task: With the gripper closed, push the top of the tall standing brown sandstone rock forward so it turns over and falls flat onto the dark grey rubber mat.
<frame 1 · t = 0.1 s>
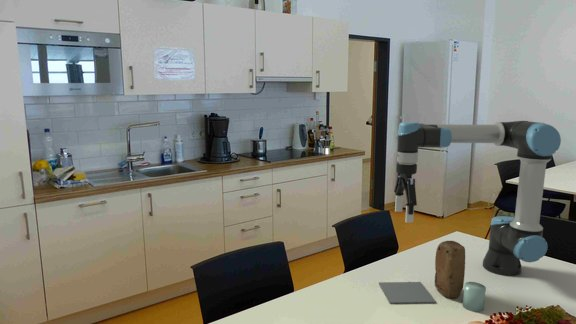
hand: (403, 216, 167), 28 cm above the table, tool pointing down, fingers open, 13 cm apart
mat: (405, 293, 164), on the table
brown sandstone rock: (446, 293, 165), on the table
pale blue rounded cylinder: (473, 307, 155), on the table
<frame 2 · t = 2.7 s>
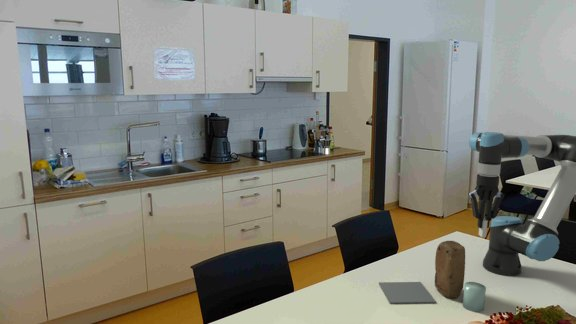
hand: (482, 236, 162), 23 cm above the table, tool pointing down, fingers closed
nothing on the table moved.
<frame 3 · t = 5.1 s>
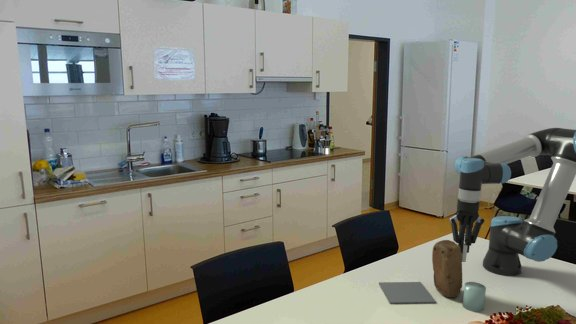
hand: (462, 260, 163), 13 cm above the table, tool pointing down, fingers closed
brown sandstone rock: (447, 292, 165), on the table, touching gripper, hand
everything else where it was.
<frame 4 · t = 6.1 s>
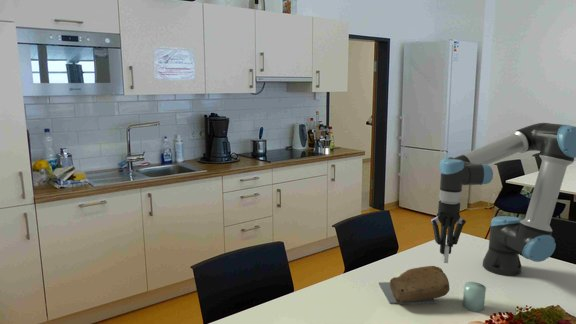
hand: (444, 261, 163), 13 cm above the table, tool pointing down, fingers closed
brown sandstone rock: (444, 279, 159), point 7 cm above the table, touching mat
everything else where it was.
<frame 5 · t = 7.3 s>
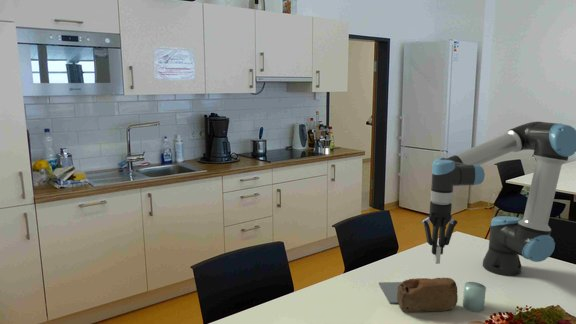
hand: (436, 262, 163), 12 cm above the table, tool pointing down, fingers closed
brown sandstone rock: (454, 292, 153), point 6 cm above the table, touching mat
everything else where it was.
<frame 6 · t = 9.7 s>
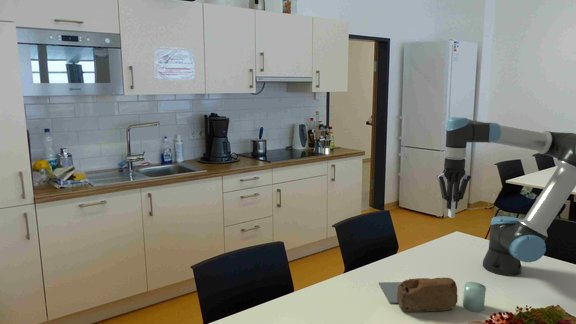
hand: (451, 216, 170), 27 cm above the table, tool pointing down, fingers closed
nothing on the table moved.
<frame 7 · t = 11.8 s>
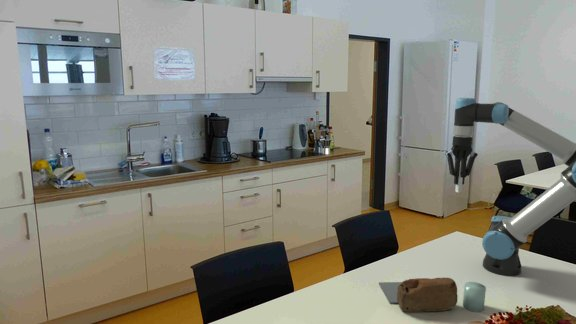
hand: (458, 191, 180), 34 cm above the table, tool pointing down, fingers closed
nothing on the table moved.
at the end: brown sandstone rock tilted 91°; brown sandstone rock inside the target area (15.3 cm from its centre), point 5.6 cm above the table; pale blue rounded cylinder moved 0.1 cm from its start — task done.
